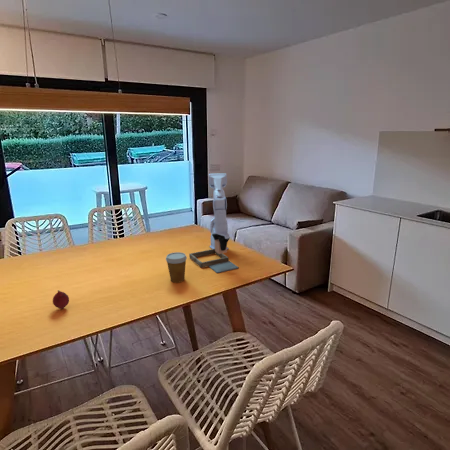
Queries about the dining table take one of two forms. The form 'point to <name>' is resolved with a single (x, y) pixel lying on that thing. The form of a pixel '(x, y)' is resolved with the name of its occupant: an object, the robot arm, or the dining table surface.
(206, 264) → the grey square frame
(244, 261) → the dining table surface
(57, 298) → the onion
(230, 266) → the mat
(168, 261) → the disposable coffee cup
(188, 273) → the dining table surface
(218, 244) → the block
